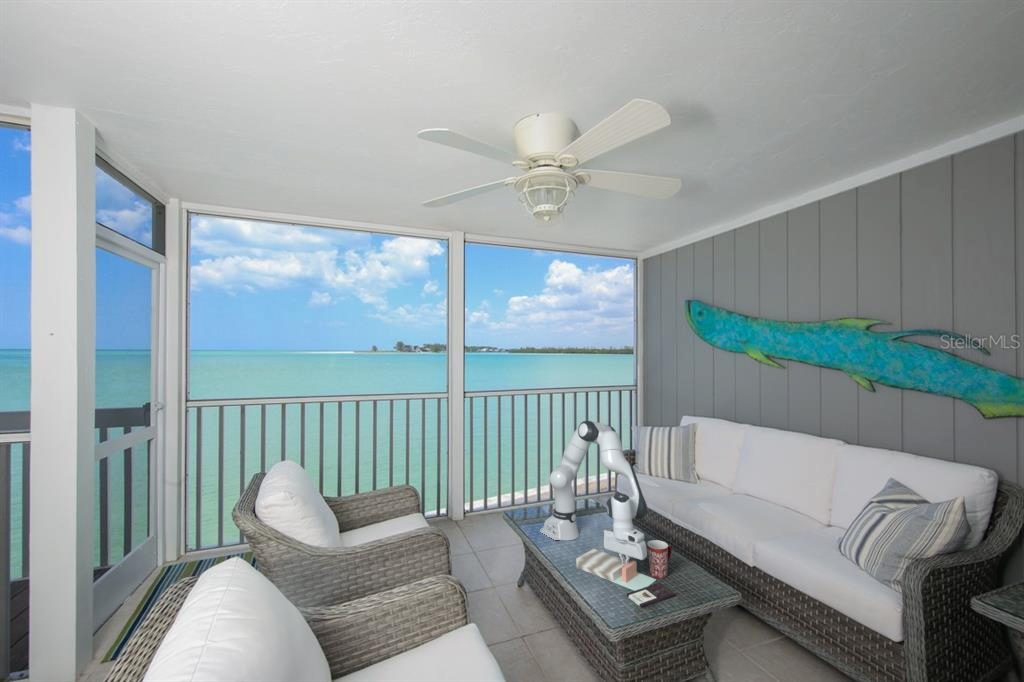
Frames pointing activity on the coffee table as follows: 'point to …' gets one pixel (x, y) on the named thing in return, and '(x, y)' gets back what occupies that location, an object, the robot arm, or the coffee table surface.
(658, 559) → the mug
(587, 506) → the coffee table surface
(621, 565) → the striped beige block
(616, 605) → the coffee table surface
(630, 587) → the mat
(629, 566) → the salmon pink eraser
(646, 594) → the chocolate bar
